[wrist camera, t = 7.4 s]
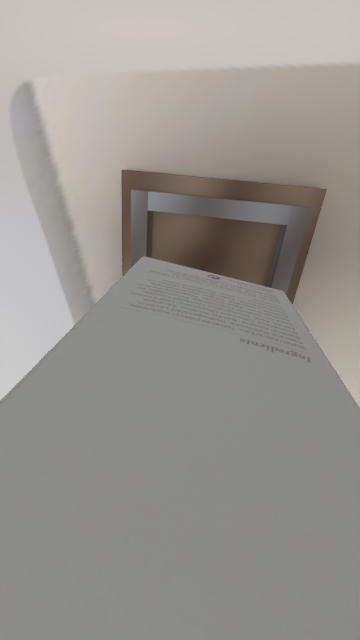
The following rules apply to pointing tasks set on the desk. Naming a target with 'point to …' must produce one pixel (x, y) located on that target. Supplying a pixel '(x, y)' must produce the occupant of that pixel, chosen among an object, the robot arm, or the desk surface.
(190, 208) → the brown flat frame
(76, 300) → the desk surface
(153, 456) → the small box
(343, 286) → the desk surface
